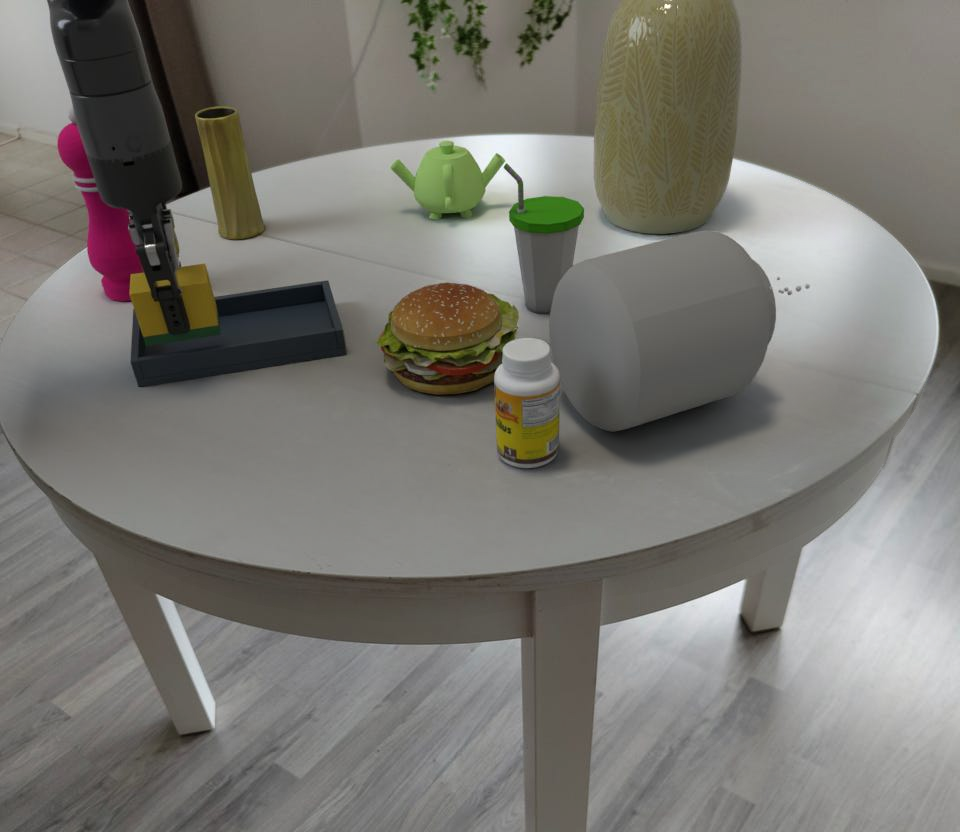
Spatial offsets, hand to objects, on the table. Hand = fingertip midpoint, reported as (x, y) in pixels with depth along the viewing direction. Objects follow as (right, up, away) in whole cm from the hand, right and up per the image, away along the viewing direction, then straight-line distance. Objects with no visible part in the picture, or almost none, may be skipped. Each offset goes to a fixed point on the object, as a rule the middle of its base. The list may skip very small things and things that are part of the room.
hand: (179, 319), depth 96 cm
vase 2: (+54, +22, +26) cm, 64 cm away
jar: (+50, -8, -5) cm, 51 cm away
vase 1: (-1, +21, +28) cm, 35 cm away
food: (+28, -5, 0) cm, 29 cm away
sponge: (0, -1, +1) cm, 1 cm away
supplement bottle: (+35, -16, -12) cm, 41 cm away
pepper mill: (-11, +9, +17) cm, 22 cm away
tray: (+5, -1, +6) cm, 7 cm away
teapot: (+27, +25, +31) cm, 48 cm away
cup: (+38, +5, +9) cm, 40 cm away
